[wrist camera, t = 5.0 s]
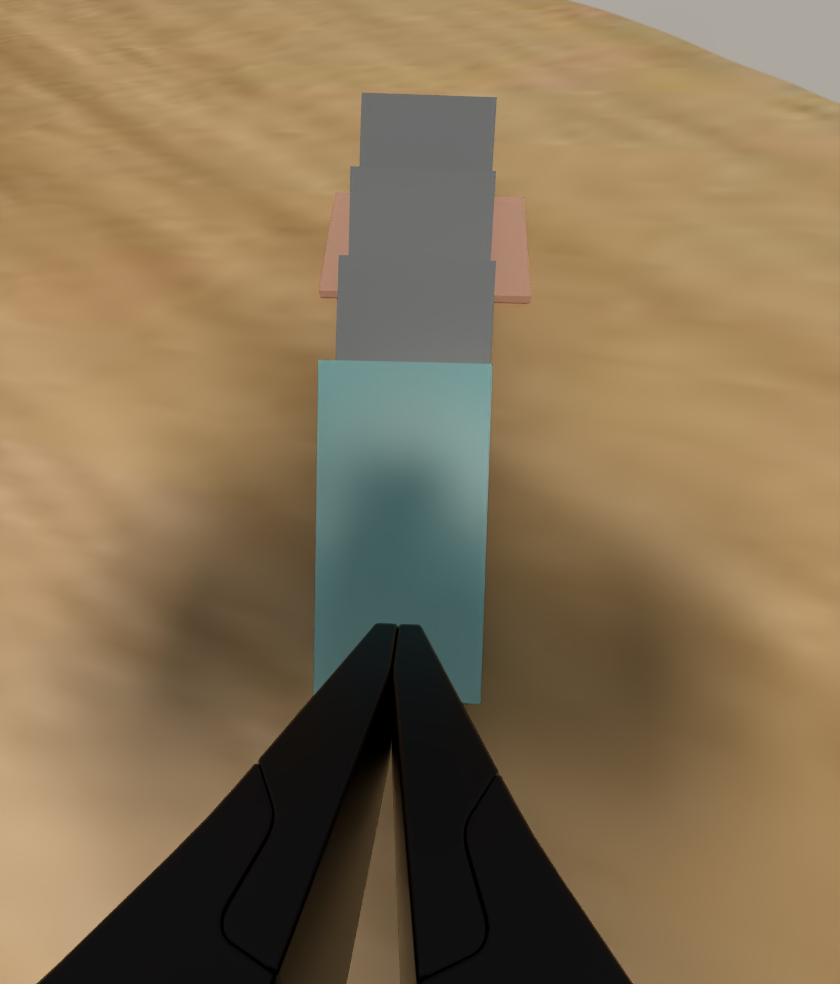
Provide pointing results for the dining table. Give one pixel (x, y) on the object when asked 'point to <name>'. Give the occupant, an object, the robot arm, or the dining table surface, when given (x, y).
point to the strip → (504, 249)
